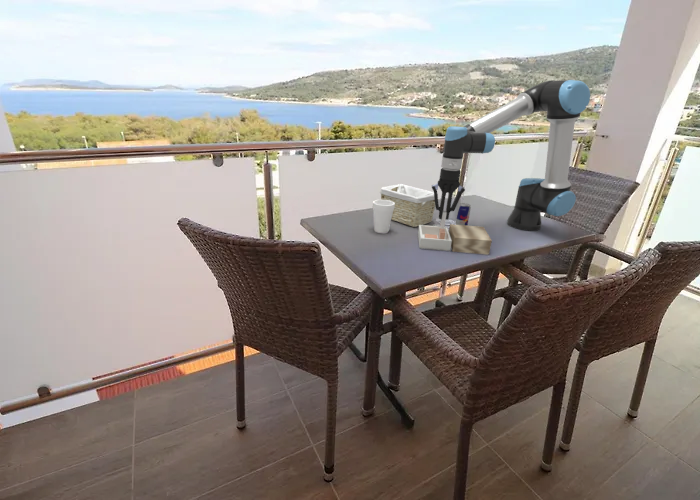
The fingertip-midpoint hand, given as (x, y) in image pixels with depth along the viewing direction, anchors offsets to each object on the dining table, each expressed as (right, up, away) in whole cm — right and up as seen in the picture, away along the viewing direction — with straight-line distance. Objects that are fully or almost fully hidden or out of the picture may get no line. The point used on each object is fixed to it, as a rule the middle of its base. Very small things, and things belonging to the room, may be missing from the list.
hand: (442, 226), depth 152 cm
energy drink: (+13, -1, +19) cm, 23 cm away
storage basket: (-10, +5, +31) cm, 33 cm away
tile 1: (-4, -4, +2) cm, 6 cm away
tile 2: (+1, -4, +1) cm, 4 cm away
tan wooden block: (+11, -8, +2) cm, 13 cm away
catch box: (-3, -6, +3) cm, 8 cm away
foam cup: (-24, -1, +14) cm, 27 cm away
